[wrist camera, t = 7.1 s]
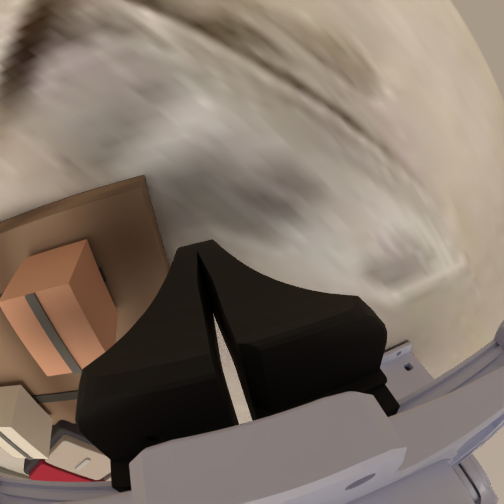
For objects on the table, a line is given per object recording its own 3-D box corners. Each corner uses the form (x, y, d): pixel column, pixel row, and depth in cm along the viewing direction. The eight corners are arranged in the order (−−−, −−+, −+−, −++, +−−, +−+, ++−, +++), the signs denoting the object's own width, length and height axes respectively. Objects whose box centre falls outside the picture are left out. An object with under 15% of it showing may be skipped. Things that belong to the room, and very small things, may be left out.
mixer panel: (144, 175, 12) (141, 188, 11) (207, 375, 19) (213, 401, 17) (-78, 258, 10) (-95, 277, 8) (21, 405, 16) (17, 427, 15)
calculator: (59, 436, 14) (229, 483, 21) (65, 388, 18) (217, 445, 25) (21, 479, 15) (160, 517, 22) (26, 441, 19) (154, 485, 26)
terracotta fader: (86, 239, 11) (67, 285, 8) (118, 313, 12) (113, 367, 10) (24, 258, 10) (-4, 304, 7) (60, 326, 12) (47, 378, 9)
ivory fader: (20, 384, 13) (10, 428, 10) (53, 419, 15) (48, 460, 12) (-12, 387, 12) (-23, 427, 10) (20, 421, 14) (14, 458, 11)
